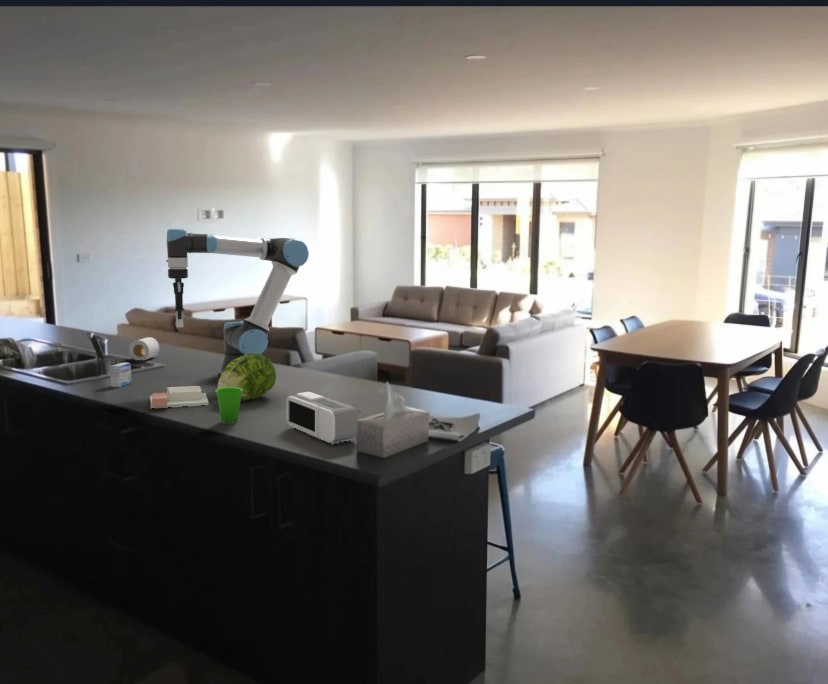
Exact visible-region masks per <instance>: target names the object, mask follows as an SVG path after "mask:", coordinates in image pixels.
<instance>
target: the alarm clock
mask: <svg viewBox="0 0 828 684" xmlns="http://www.w3.org/2000/svg"><path fill="white" fill-rule="evenodd" d="M285 403H286V404H285V405H286V407H285V408H286V412H285V413H286V416H285V417H286V422H287V424H288V425H289V427H292V428H294V429H295V428H296V429H295V430H297V429H298V430H297V431H299V430H301V431H300V432H302V431H303V432H302V433H304V432H305V434H306V433H308V434H307V435H309V434H310V435H309V436H311V435H312V436H311V437H313V436H315V437H317V438H316V439H318V438H319V439H318V440H320V439H321V440H320V441H322V440H324V441H323V442H325V441H326V442H325V443H327V442H328V443H327V444H329V443H336V442H340V441H345V440H350V439H354V438H356V437H357V435H356V431H357V432H358V412H357V409H356V408H355V407H354V406H352V405H350V404H346V403H344V402H341V401H338V400H334V399H332V398H329V397H326V396H325V395H324V396H323V395H321V394H317V393H314V392H311V391H305V392H298V393H296V395H295V394H294V395H289V396H288V397H286V401H285ZM315 437H314V438H315Z"/></svg>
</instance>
